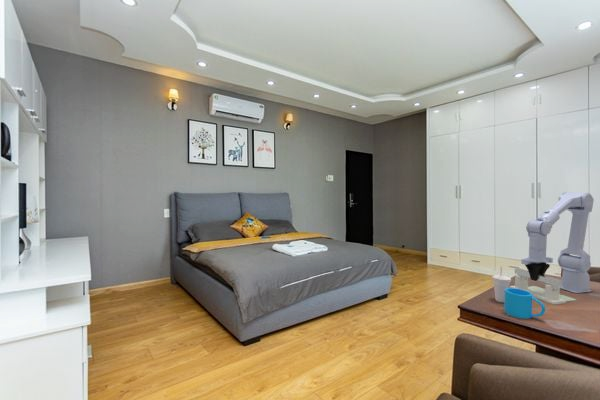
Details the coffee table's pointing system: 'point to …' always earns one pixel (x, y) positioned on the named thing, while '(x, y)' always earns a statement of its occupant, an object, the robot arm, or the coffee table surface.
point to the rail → (539, 277)
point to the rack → (549, 295)
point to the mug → (520, 303)
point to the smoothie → (500, 286)
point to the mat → (559, 295)
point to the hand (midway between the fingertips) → (536, 279)
